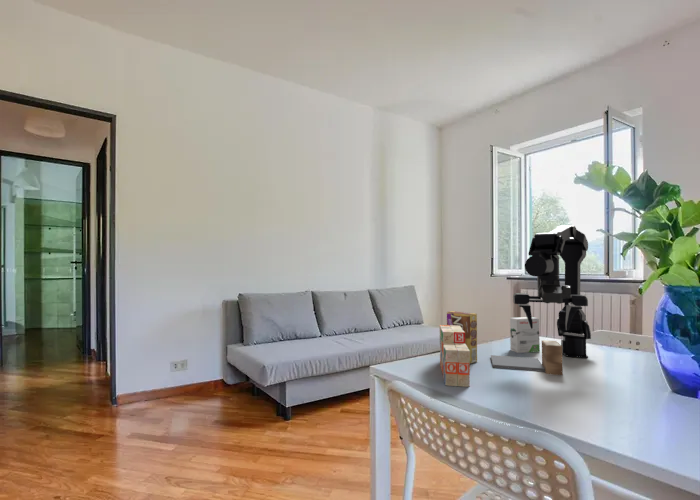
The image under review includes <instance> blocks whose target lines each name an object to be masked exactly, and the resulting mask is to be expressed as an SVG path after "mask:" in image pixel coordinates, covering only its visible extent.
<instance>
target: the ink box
mask: <svg viewBox="0 0 700 500" xmlns="http://www.w3.org/2000/svg"><path fill="white" fill-rule="evenodd" d="M532 323H533V329H531V327H530V325H529V322H528V319H527V316H523V317H521V316H520V317H509V337H510V339H509V342H510V347H509V348H510V351H512V352H515V353H517V354H522V353H525V354H526V353H539V352H541V351H540V347H541V346H540V344H541V343H540V318H538V317H532Z"/></svg>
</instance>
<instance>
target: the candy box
mask: <svg viewBox="0 0 700 500" xmlns="http://www.w3.org/2000/svg"><path fill="white" fill-rule="evenodd" d="M477 317H478V314H477V313H473V312H464V311H458V310H457V311H456V310H455V311H454V310H450V311H447V312H446V325H459V326H461V328H462V330H463V331H464V332H465V344H466V345H467V347H468V349H469V350H470V364H475V363H477V362H478V318H477Z"/></svg>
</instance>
